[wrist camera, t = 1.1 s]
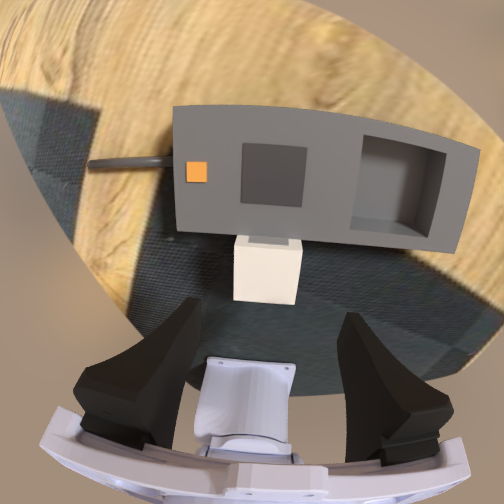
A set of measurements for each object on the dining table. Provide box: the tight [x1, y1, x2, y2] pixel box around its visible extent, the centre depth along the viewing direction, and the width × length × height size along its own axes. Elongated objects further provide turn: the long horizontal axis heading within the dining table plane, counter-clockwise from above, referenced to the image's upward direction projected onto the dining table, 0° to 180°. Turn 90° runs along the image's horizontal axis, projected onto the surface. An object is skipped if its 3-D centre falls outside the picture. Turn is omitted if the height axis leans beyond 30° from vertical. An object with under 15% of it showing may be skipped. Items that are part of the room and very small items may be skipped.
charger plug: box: [234, 235, 303, 305], centre depth 20 cm, size 4×4×5 cm
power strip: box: [87, 105, 480, 254], centre depth 18 cm, size 29×8×4 cm, turn 88°
